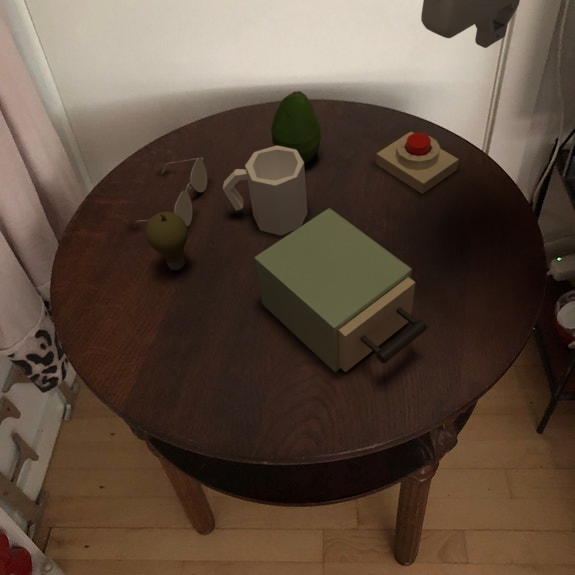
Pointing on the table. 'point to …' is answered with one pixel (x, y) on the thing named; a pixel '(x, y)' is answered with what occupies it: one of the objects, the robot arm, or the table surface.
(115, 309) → the table surface
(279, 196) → the mug
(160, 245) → the light bulb
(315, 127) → the fruit
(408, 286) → the drawer
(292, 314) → the cabinet
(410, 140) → the button
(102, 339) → the table surface
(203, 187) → the sunglasses
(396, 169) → the button block
